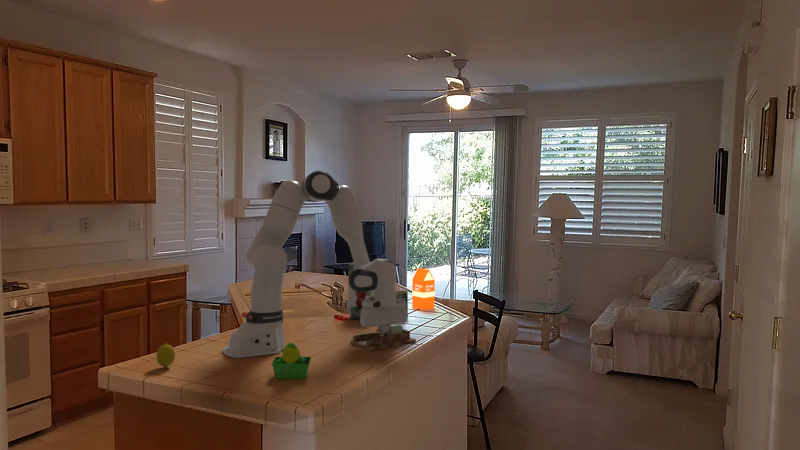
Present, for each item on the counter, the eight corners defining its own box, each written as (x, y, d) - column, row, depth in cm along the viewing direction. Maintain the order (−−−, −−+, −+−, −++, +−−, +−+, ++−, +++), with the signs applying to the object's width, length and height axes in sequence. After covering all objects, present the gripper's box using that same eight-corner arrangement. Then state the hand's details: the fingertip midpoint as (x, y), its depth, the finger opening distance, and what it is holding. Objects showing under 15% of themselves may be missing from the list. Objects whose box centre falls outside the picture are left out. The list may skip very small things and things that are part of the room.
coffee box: (392, 320, 249) (392, 292, 249) (389, 319, 252) (390, 291, 251) (408, 318, 253) (408, 290, 252) (405, 317, 256) (405, 289, 255)
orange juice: (423, 305, 287) (423, 267, 286) (434, 307, 280) (435, 269, 279) (411, 307, 282) (412, 268, 281) (423, 309, 275) (423, 270, 274)
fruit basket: (311, 372, 174) (311, 337, 173) (307, 381, 165) (307, 344, 165) (275, 372, 174) (275, 337, 173) (270, 381, 165) (269, 344, 164)
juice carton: (347, 316, 258) (347, 259, 256) (368, 315, 261) (369, 259, 260) (351, 320, 249) (351, 261, 248) (373, 319, 252) (373, 261, 251)
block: (392, 339, 210) (392, 328, 210) (384, 337, 214) (384, 325, 214) (402, 338, 213) (402, 326, 213) (395, 335, 217) (395, 324, 217)
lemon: (169, 364, 181) (169, 340, 181) (178, 367, 178) (178, 343, 177) (153, 368, 177) (153, 343, 176) (161, 371, 173) (161, 346, 173)
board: (370, 351, 198) (370, 340, 198) (350, 343, 209) (350, 332, 209) (415, 342, 211) (415, 332, 211) (394, 335, 222) (394, 325, 222)
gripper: (401, 296, 218) (401, 330, 219) (358, 302, 206) (358, 338, 207) (410, 298, 213) (410, 333, 214) (367, 304, 201) (367, 341, 202)
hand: (384, 335), depth 210 cm, fingers closed
